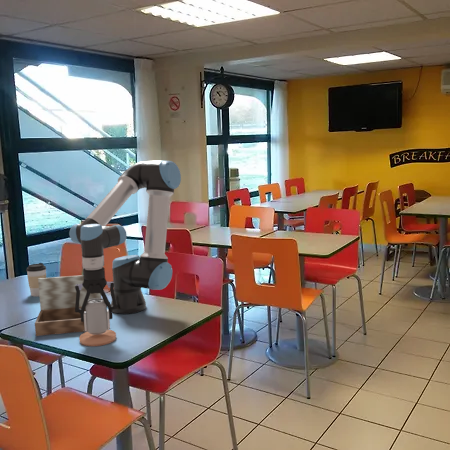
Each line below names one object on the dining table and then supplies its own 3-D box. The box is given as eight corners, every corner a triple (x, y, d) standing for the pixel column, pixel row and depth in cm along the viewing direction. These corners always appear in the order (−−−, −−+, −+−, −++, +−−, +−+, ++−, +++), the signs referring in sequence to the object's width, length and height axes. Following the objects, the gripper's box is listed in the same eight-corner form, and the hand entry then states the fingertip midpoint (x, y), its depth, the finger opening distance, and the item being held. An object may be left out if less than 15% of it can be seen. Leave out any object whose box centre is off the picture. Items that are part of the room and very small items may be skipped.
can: (112, 330, 185) (110, 298, 183) (97, 336, 179) (95, 304, 177) (98, 326, 189) (96, 295, 187) (82, 333, 183) (80, 301, 181)
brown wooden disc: (116, 331, 192) (115, 327, 192) (116, 344, 179) (116, 340, 179) (80, 334, 189) (80, 331, 189) (78, 347, 177) (78, 343, 176)
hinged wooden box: (102, 316, 210) (99, 274, 208) (101, 329, 194) (98, 284, 191) (41, 321, 205) (38, 278, 203) (35, 336, 189) (31, 289, 186)
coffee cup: (36, 298, 238) (34, 267, 236) (24, 295, 243) (21, 265, 241) (52, 293, 246) (49, 263, 244) (40, 290, 251) (37, 261, 248)
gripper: (63, 272, 174) (67, 335, 178) (122, 267, 179) (126, 329, 182) (65, 267, 182) (69, 328, 185) (122, 263, 186) (125, 322, 189)
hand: (97, 328), depth 184 cm, fingers closed on can, 7 cm apart
